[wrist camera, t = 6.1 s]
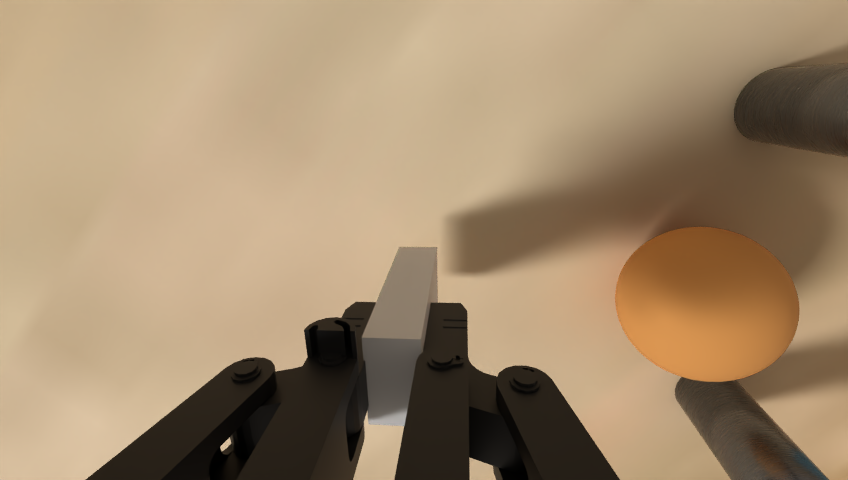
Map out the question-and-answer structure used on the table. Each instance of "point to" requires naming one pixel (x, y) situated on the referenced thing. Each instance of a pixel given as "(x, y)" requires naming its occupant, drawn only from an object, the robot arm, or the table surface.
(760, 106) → the post
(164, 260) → the table surface
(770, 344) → the ball
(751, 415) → the post
